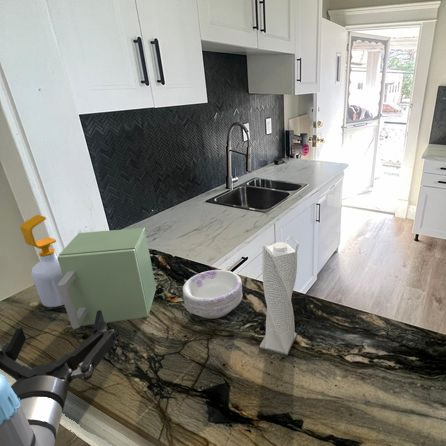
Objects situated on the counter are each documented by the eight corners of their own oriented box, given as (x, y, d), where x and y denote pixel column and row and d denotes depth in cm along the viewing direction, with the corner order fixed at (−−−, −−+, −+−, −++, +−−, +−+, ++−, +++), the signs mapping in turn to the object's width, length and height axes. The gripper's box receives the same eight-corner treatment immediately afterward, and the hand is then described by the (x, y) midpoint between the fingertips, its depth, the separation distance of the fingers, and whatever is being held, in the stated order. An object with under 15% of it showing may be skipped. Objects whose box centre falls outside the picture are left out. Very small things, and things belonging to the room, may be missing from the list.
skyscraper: (302, 335, 77) (305, 232, 66) (291, 360, 70) (293, 249, 59) (270, 328, 79) (268, 227, 68) (257, 351, 72) (252, 243, 61)
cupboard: (149, 314, 83) (135, 247, 75) (81, 323, 80) (58, 254, 72) (156, 288, 94) (144, 227, 86) (96, 295, 90) (78, 232, 82)
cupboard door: (143, 332, 77) (127, 262, 69) (69, 343, 73) (44, 270, 66) (148, 314, 83) (134, 248, 75) (80, 323, 79) (58, 255, 72)
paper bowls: (213, 285, 96) (210, 263, 93) (253, 301, 89) (252, 277, 86) (173, 314, 83) (169, 289, 80) (217, 334, 77) (214, 308, 74)
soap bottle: (88, 293, 91) (64, 215, 81) (54, 311, 84) (24, 227, 74) (68, 285, 95) (44, 209, 85) (35, 302, 87) (3, 221, 77)
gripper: (-70, 465, 44) (-9, 356, 62) (129, 400, 53) (133, 322, 71) (-95, 430, 41) (-23, 326, 59) (120, 368, 51) (126, 294, 68)
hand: (62, 324), depth 65 cm, fingers open, 13 cm apart
